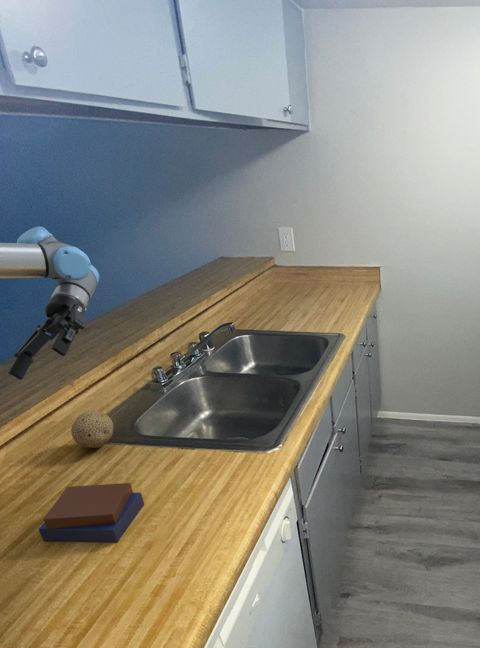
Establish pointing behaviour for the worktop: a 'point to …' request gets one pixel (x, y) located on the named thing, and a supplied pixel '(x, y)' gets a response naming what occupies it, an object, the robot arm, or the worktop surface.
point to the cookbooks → (92, 513)
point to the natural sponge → (92, 429)
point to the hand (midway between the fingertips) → (36, 364)
